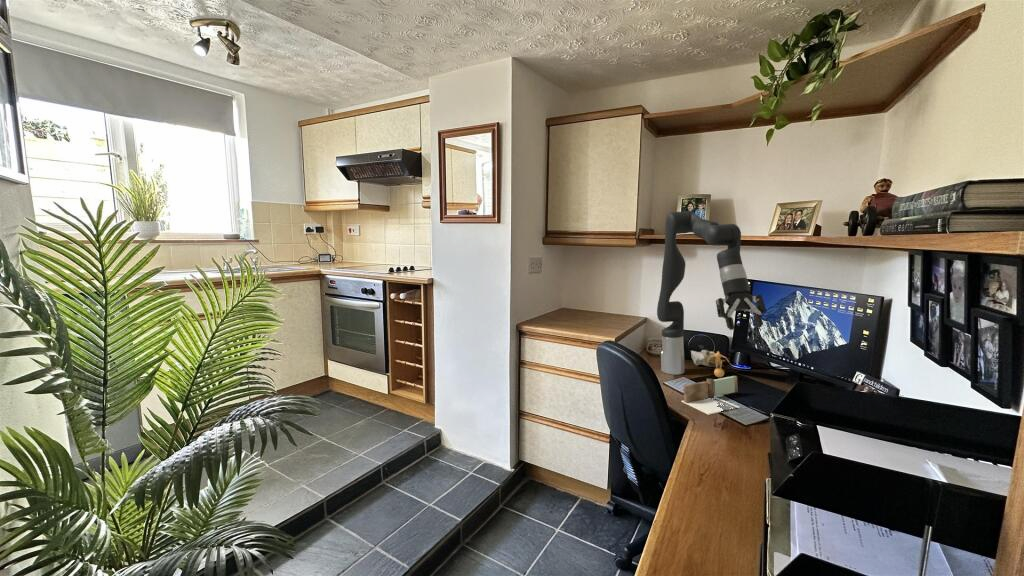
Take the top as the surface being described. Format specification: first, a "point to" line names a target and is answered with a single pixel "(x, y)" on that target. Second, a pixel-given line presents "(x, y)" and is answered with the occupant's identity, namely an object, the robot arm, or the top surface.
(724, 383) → the panel
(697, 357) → the ceramic sculpture
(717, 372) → the figurine
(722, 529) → the top surface
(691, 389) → the fence post and fixed panel
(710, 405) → the card
